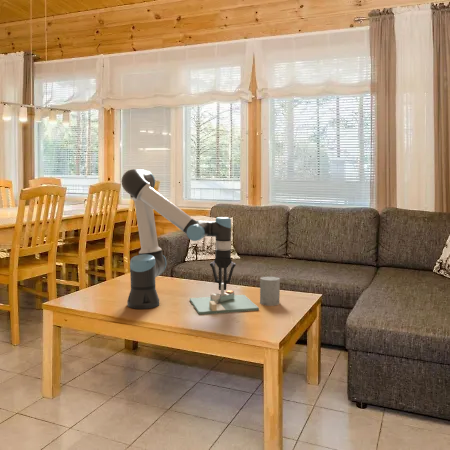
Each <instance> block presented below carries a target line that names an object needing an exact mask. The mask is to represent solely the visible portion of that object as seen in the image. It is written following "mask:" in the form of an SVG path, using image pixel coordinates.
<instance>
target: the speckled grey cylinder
mask: <svg viewBox="0 0 450 450" xmlns="http://www.w3.org/2000/svg"><path fill="white" fill-rule="evenodd" d="M280 281H281V278H280V277H279V276H274V275H266V276H265V275H263V276H260V278H259V282H260V284H259V286H260V287H259V304H260V305H262V306H267V307H268V306H270V307H272V306H278V305H280V297H281V295H280V290H281V289H280V287H281V283H280Z"/></svg>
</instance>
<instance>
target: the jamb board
mask: <svg viewBox="0 0 450 450" xmlns="http://www.w3.org/2000/svg"><path fill="white" fill-rule="evenodd" d="M189 302H190V303H191V305H192V306H193V308H194V309H195V311H196V312H197V314H198V315H212V314H213V315H214V314H227V313H239V312H254V311H260V308H259V306H258V305H257V304H255V303H254V302H253V301H252V300H251V299H250V298H249V297H247V296H246V294H238V295H237V294H236V295H235V294H234V299H231V300H227V301H224V302H221V303H219V304H216V303H215V302H214V301H210V296H206V297H205V296H202V297H190V298H189Z"/></svg>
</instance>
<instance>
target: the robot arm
mask: <svg viewBox="0 0 450 450" xmlns="http://www.w3.org/2000/svg"><path fill="white" fill-rule="evenodd" d="M121 177H122V178H121V187H122V188H123V191H125V192H126V193H127V194H129V195H130V199H131V200H132V201H134V207H135V208H134V209H135V216H136V221H137V229H138V236H139V243H140V247H141V248H140V250H139V251H138V255H134V256H133V257H131V258H130V261H129V262H130V264H129V269H130V270H129V271H130V292H129V293H128V297H127V304H126V305H127V307H128V308H131V309H135V310H136V309H137V310H146V309H147V310H149V309H153V308H156V307H158V306H159V305H160V298H159V295H158V291H157V289H156V278H157V277H159V276H161V275H162V274H163V273H164V272H165V270H166V267H167V259H166V257H165V255H163V249H162V248H161V247H160V246H159V243H158V233H157V228H156V221H155V220H156V219H155V213H154V211H155V212H156V213H158V214H160V216H162V217H163V218H165V219H166V220H167V221H169V222H170V223H171V224H172V225H174V226H175V227H176V228H178V229H179V230H181V231H182V232H183V233H185V234H186V236H187V238H188V239H189V240H190V241H191V242H192V241H193V242H198V241H201V240H203V238H205V237H213V238H215V244H214V245H215V252H214V255H215V257H214V259H213V261H212V262H210V263H209V266H210V268H211V271H212V274H213V279H214V282H215V283H216V284H218V290H219V291H220V294H223V293H225V291H227V284H229V283H230V282H231V279H232V275H233V272H234V269H235V268H236V265H237V263H236V262H233V260H232V258H231V256H232V249H231V248H232V219H231V218H230V217H227V216H224V217H223V216H218V217H216V218H215V220H214V221H213V220H212V221H211V220H195V219H194V218H193V217H191V216H190V215H189V214H188V213H186V212H185V211H184V210H183V209H181V208H179V206H177V205H175V203H173V202H171V201H170V200H168V198H166V197H165V196H164V195H162V194H161V193H160V192H158V191H157V190H155V189H154V188H155V185H156V179H155V176H154V175H153V173H152V172H151V171H150V170H147V169H143V168H138V169H134V168H133V169H128V170H127V171H126V172H124V173H123V175H122V176H121ZM216 266H217V268H218V274H217V270H216ZM229 266H230V271H229V273H228V267H229ZM222 269H223V270H222ZM222 272H223V273H222ZM222 274H223V279H222Z"/></svg>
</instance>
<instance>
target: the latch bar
mask: <svg viewBox="0 0 450 450" xmlns="http://www.w3.org/2000/svg"><path fill="white" fill-rule="evenodd" d="M234 295H235V291H234V290H225V292H224V293H223V294H221V293H217V292H214V293H210V295H209V297H210V301H214V302H215V303H216V304H219V303H221V302H224V301H227V300H231V299H234Z"/></svg>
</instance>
